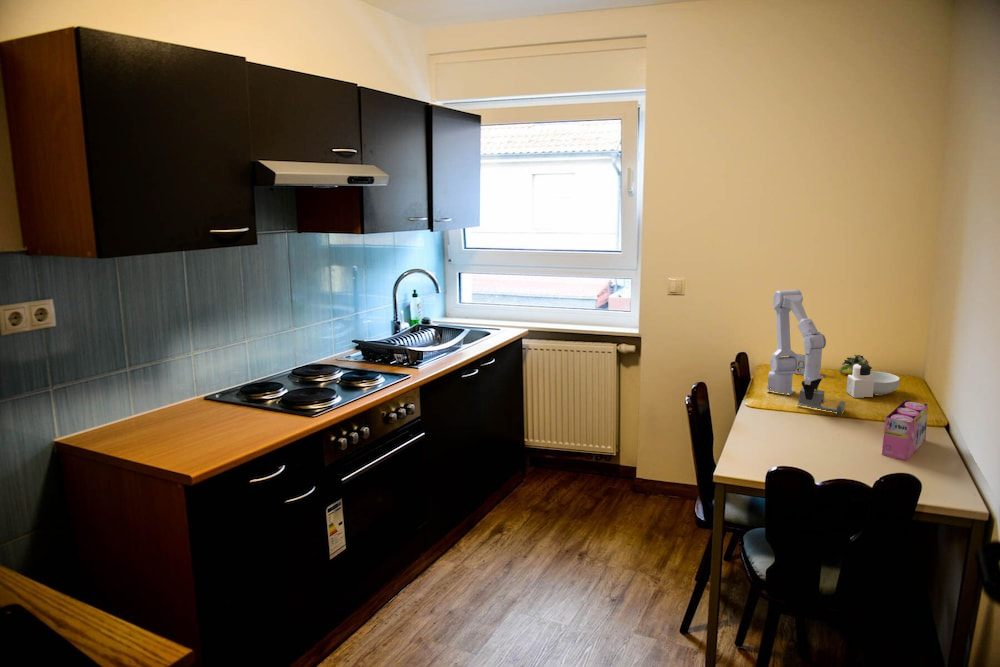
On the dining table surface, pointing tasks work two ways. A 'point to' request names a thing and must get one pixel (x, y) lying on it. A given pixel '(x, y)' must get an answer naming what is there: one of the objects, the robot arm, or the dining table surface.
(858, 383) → the container
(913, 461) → the dining table surface
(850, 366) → the potted plant
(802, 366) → the electrical switch
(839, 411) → the rail
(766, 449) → the dining table surface
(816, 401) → the block
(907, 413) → the gum box
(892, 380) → the cereal bowl
